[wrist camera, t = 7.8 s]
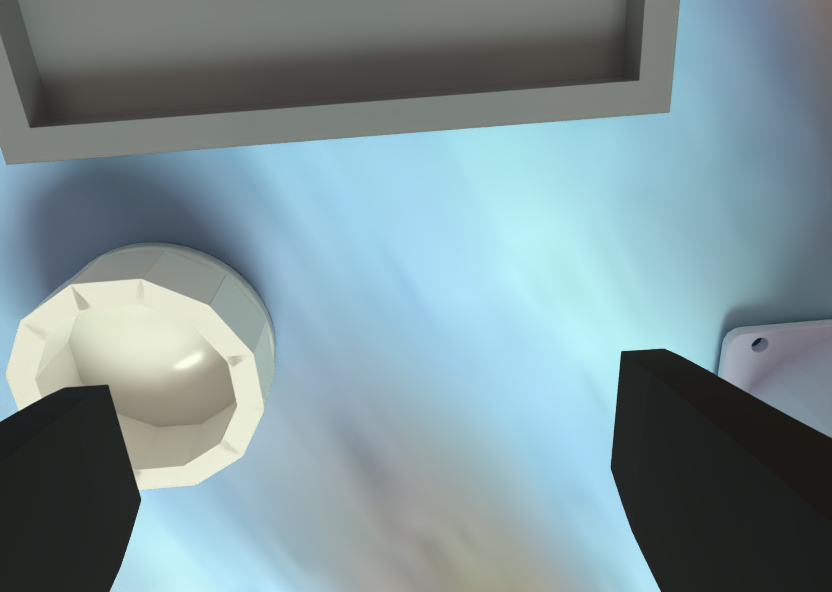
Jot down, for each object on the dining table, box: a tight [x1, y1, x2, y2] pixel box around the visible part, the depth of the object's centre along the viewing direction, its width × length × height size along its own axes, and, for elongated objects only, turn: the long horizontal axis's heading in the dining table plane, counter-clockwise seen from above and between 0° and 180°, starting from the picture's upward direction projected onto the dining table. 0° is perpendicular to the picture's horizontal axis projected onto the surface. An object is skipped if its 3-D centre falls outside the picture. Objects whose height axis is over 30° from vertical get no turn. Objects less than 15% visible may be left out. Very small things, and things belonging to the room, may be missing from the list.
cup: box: [5, 242, 276, 490], centre depth 19 cm, size 6×6×3 cm
